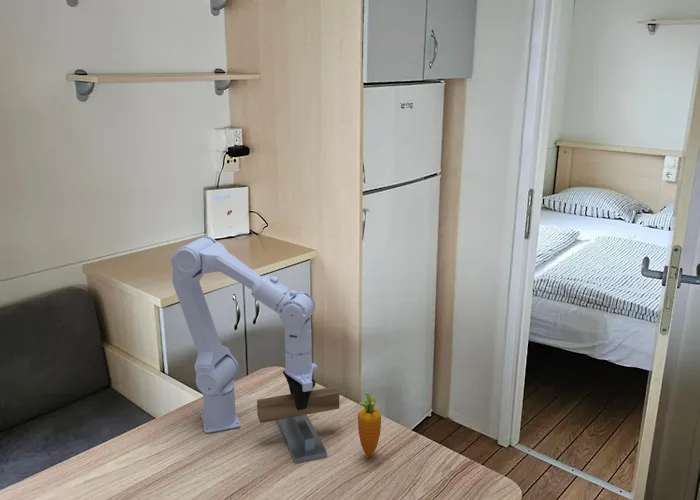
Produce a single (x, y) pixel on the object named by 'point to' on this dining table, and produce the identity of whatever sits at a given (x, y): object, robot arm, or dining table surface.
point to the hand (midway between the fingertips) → (299, 404)
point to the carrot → (369, 425)
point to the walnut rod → (287, 408)
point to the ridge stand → (301, 439)
